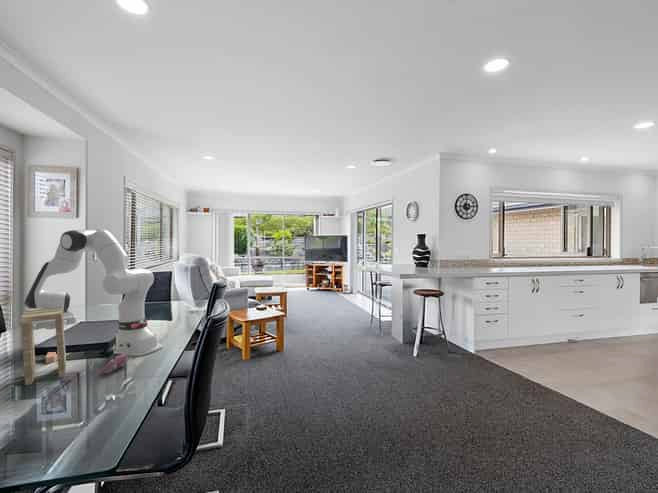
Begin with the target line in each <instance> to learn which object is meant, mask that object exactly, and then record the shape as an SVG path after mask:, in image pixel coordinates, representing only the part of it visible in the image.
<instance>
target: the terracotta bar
mask: <svg viewBox="0 0 658 493" xmlns="http://www.w3.org/2000/svg"><path fill="white" fill-rule="evenodd" d="M56 356H57V357H58V355H57V354H56V352H48V351H47V353H46V356H45V364H51V363H54V362H55V361H56V359H57V357H56Z"/></svg>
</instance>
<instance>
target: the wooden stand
mask: <svg viewBox="0 0 658 493" xmlns="http://www.w3.org/2000/svg"><path fill="white" fill-rule="evenodd" d="M53 319H55V324H56V328H55V337H56V338H55V339H56V343H57V367H58V368H57V370H58V379H60V378H65V377H66V370H67V359H66V358H67V357H66V342H65V341H66V340H65V325H64V323H63V306H62V307H53V308H45V309H30V310H25V311H24V312H23V314H22V315H21V317H20V319H19V323H20V327H21V328H20V330H21V342H22V343H21V345H22V356H23V370H24V373H23V374H24V386H29V385H32V384H33V383H34V380H35V377H36V372H37V371H36V370H37V367H36V354H35V340H34V330H33V323H32V322H39V321H46V320H53Z"/></svg>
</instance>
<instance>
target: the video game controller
mask: <svg viewBox="0 0 658 493" xmlns="http://www.w3.org/2000/svg"><path fill="white" fill-rule="evenodd" d="M129 356H130V355H124V354H123V355H122V354H117V356H114V357H113V358H112V359H111V360H110V361H108V363H106V364H105V365H104V366H103V367H102V368H101V373H102V374H107V373H109V372H110V371H112V372H115V371H116V370H117V369H118V368H119V369H121V368H123V366H124V365H125V364H126V363H127V362H128V360H129V358H130V357H129ZM120 367H121V368H120ZM115 369H116V370H115ZM114 370H115V371H114Z"/></svg>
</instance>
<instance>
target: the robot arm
mask: <svg viewBox="0 0 658 493" xmlns="http://www.w3.org/2000/svg"><path fill="white" fill-rule="evenodd" d="M93 251H94V253H95V254H96V255H97V258H98V259H99V260H100V262H101V263H102V265H103V267H104V270H105V277H104V278H103V281H102V287H103V290H104V291H105V293H107V294H109V295H124V297H123V300H122V301H121V302H120V303H119V304H118V308H117V309H118V310H117V311H118V312H117V313H118V321H117V329H118V332H117V333H116V337H115V349H114V350H113V354H114V355H115V354H116V355H123V354H124V355H127V356H131V357H140V356H145V355H149V354H151V353H153V352H156V351H159V350H161V349H162V348H164V345H163V344H162V343H159V342H158V337H157V335H158V334H157V332H153V330H152V329H150V328H149V326H148V323H149V322H148V320H147V318H146V317H145V303H146V302H145V301H146V297H147V294H148V291H149V289H150V287H151V286H152V285H153V283H155V282H154V281H155V276H154V273H153V272H152V270H150V269H149V268H148V269H147V268H134V269H133V268H132V269H129V268H127V263H128V260H129V255H128V254H127V252H126V250H124V248H123V246H122V245H121V244H120V242H119V241H118V239H117V238H116V237H115V236H114V235H113V234H112V233H111V232H110V231H109V230H107V229H101V230H100V229H76V230H75V229H71V230H67V231H65V232H63V233H62V234H61V236H60V240H59V243H58V246H57V247H56V250H55V254H54V257H53V258H52V259H51V260H49V261H46V262H45V263H44V264H43V265H42V267H41V269H40V270H39V272H38V273H37V276H36V278H35V280H33V283H32V286H31V288H30V289H29V290H28V292H27V293H26V294H25V297H24V298H23V304H24V306H25V307H27V308H28V309H30V310H37V309H45V308H53V307H62V306H63V323H64V326H67V325H75V324H77V317H76V314H75V313H74V312H73V311H68V310H69V309H70V308H69V307H70V303H71V296H70V294H69V293H68V292H66V291H59V290H58V291H57V290H55V291H54V290H47V289H46V290H44V289H43V286H44V284H45V282H46V281H47V279H48V278H49V277H51V276H55V275H61V274H68V273H72V272H74V271H75V270H76V269H78V268H79V266H80V263H81V262H82V261H81V260H82V257H83V253H84V252H93ZM32 323H33V331H35V330H37V331H38V330H41V329H45V330H54V329H55V330H56V324H55V319H53V320H46V321H39V322H32Z"/></svg>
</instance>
